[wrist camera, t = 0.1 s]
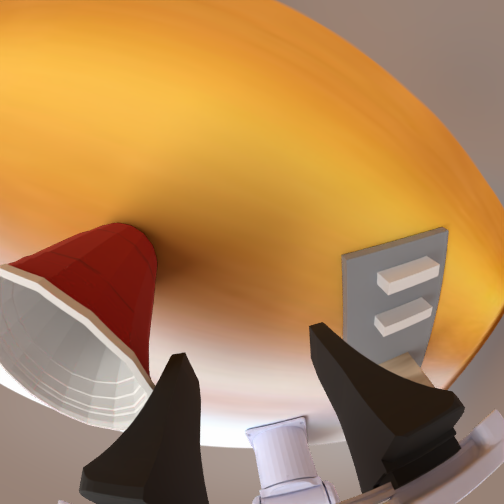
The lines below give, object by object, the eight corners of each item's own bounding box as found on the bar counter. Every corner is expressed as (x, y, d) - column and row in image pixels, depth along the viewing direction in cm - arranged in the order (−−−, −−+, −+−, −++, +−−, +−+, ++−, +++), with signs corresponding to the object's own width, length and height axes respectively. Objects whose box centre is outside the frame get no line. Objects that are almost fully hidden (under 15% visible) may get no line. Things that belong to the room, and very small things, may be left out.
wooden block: (404, 364, 28) (431, 402, 22) (370, 379, 28) (395, 421, 22) (407, 351, 27) (437, 390, 21) (372, 366, 27) (399, 410, 21)
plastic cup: (60, 287, 20) (-11, 380, 9) (79, 170, 16) (-47, 225, 5) (167, 334, 22) (139, 457, 11) (212, 224, 19) (189, 350, 8)
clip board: (417, 363, 30) (427, 376, 28) (340, 395, 30) (348, 412, 27) (442, 226, 22) (461, 237, 20) (341, 255, 22) (357, 271, 19)
